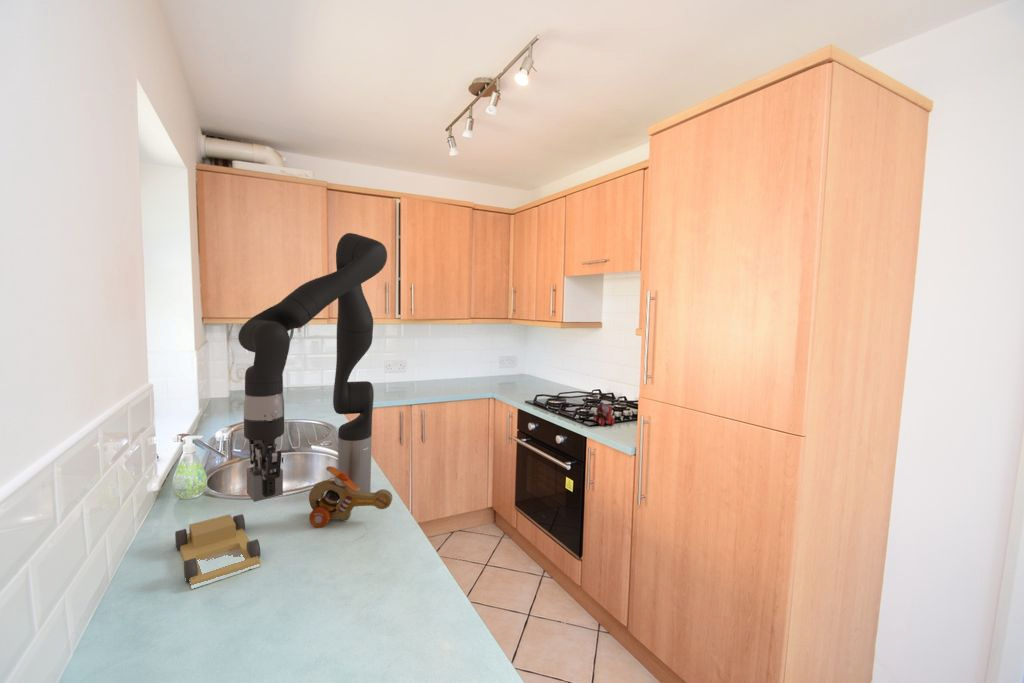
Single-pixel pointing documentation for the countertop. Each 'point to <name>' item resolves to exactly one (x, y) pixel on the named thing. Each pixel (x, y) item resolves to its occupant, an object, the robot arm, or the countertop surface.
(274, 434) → the robot arm
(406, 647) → the countertop surface
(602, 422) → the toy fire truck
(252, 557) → the chassis
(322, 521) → the toy helicopter
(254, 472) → the block
